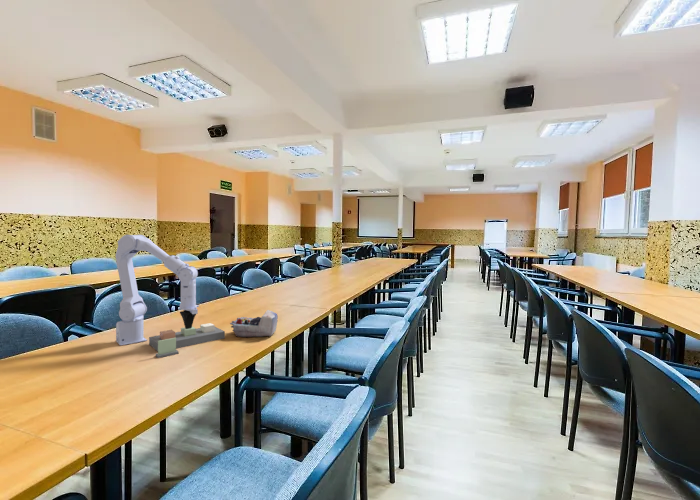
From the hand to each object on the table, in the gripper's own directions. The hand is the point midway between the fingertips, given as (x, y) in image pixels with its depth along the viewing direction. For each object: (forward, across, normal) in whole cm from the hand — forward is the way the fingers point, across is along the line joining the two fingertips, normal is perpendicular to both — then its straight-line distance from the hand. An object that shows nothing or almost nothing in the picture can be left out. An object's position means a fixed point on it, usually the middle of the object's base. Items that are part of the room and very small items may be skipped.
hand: (188, 328), depth 142 cm
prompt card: (+6, -11, +12) cm, 17 cm away
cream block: (+4, 0, -8) cm, 9 cm away
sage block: (+4, 0, 0) cm, 4 cm away
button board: (+6, 0, 0) cm, 6 cm away
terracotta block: (+4, 0, +8) cm, 9 cm away
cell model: (+6, -9, -26) cm, 28 cm away
